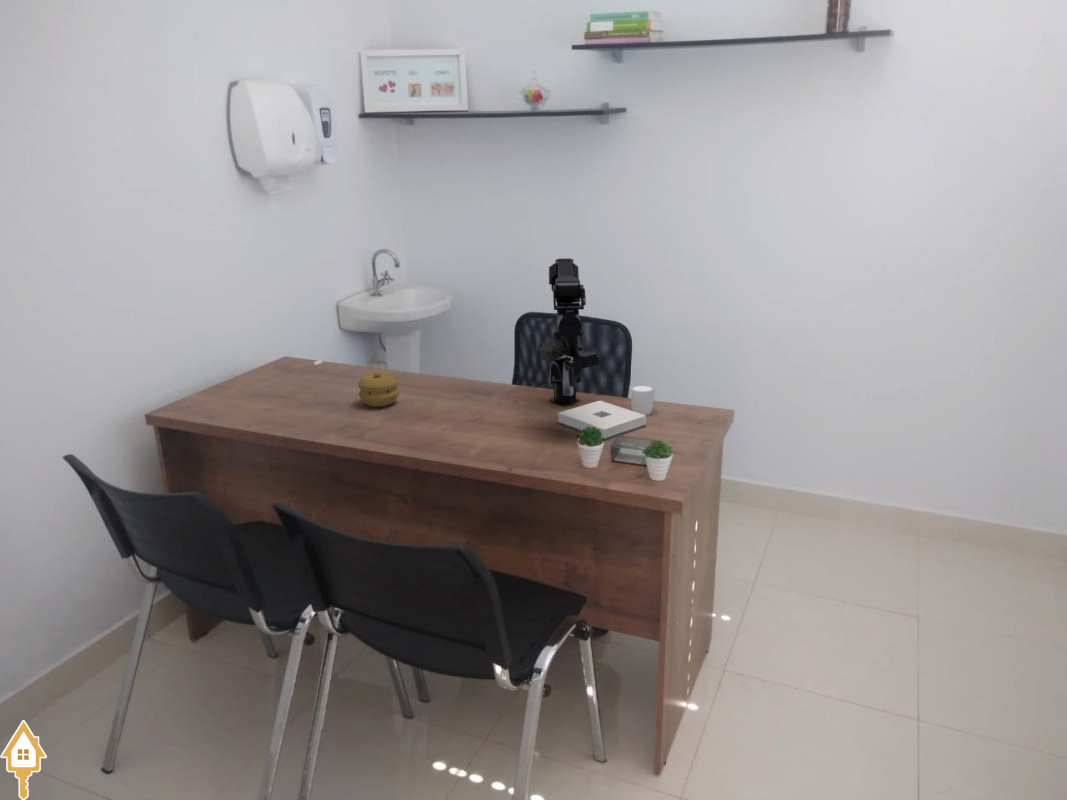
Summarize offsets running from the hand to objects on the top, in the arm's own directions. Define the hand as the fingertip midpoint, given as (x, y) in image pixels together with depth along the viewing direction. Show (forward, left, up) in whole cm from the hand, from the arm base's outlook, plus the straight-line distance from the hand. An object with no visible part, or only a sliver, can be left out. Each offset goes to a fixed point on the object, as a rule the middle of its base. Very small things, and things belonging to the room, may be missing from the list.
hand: (568, 385), depth 220 cm
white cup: (+4, +25, -13) cm, 28 cm away
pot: (-54, -27, -13) cm, 62 cm away
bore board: (+4, +9, -12) cm, 16 cm away
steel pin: (0, 0, -3) cm, 3 cm away
